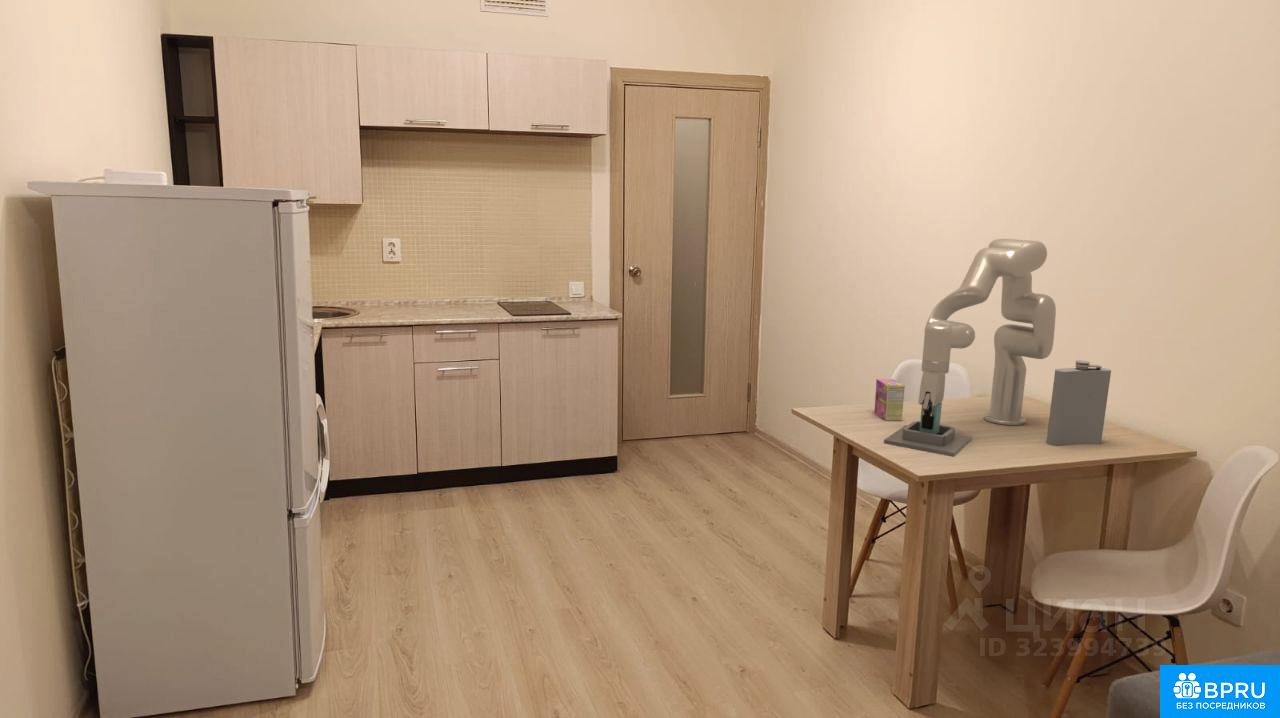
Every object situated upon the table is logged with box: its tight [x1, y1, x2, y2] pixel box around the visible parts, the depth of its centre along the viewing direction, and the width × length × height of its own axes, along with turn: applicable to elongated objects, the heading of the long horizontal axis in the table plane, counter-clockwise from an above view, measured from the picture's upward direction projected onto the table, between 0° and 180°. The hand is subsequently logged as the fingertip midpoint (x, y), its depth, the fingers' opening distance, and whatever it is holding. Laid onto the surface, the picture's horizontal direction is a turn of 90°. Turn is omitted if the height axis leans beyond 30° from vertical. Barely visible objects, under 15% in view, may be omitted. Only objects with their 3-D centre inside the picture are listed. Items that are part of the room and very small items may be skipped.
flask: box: [1045, 359, 1112, 447], centre depth 249 cm, size 17×5×25 cm, turn 101°
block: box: [919, 402, 943, 434], centre depth 248 cm, size 4×4×9 cm
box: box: [874, 378, 905, 422], centre depth 275 cm, size 10×6×12 cm, turn 5°
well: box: [883, 420, 973, 457], centre depth 249 cm, size 20×20×4 cm
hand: (929, 426), depth 249 cm, fingers closed on block, 4 cm apart
